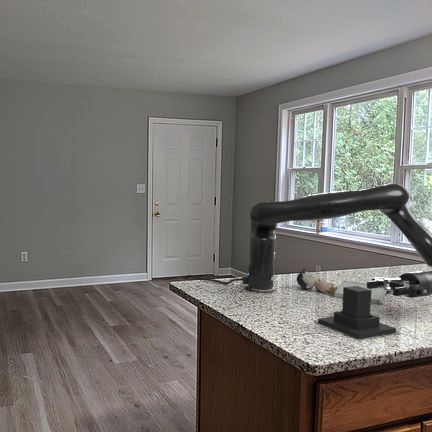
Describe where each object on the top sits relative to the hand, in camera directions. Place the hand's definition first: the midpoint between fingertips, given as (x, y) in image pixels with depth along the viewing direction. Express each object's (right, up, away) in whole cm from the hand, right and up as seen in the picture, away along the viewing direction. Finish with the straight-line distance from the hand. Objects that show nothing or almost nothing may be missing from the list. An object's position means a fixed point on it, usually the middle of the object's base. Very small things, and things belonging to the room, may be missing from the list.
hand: (380, 288), depth 126 cm
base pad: (-9, -10, -3) cm, 14 cm away
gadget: (+12, -8, +34) cm, 37 cm away
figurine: (-3, -7, +39) cm, 39 cm away
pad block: (-9, -9, -4) cm, 13 cm away
